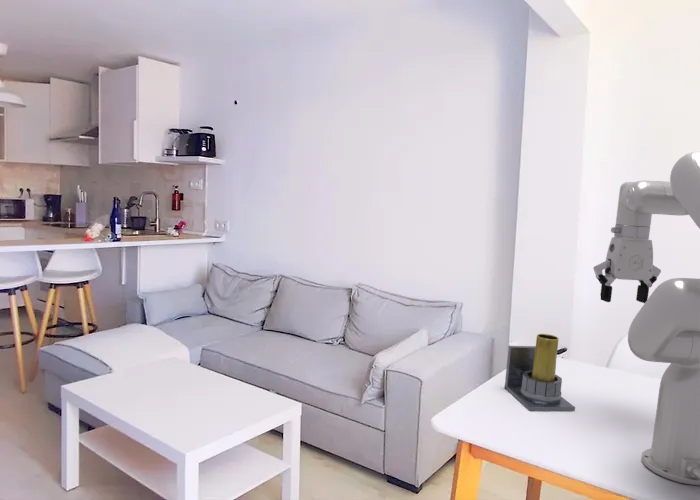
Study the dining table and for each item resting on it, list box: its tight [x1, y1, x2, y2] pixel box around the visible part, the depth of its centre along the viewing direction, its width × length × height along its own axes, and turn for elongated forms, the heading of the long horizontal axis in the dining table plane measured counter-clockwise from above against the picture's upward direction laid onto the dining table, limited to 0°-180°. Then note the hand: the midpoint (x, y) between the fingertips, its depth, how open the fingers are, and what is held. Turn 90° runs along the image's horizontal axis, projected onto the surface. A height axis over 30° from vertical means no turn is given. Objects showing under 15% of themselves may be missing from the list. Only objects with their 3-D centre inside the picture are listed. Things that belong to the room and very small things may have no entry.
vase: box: [531, 333, 559, 382], centre depth 138 cm, size 6×6×14 cm
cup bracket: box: [504, 345, 576, 412], centre depth 140 cm, size 15×12×12 cm
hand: (623, 301), depth 132 cm, fingers open, 9 cm apart
